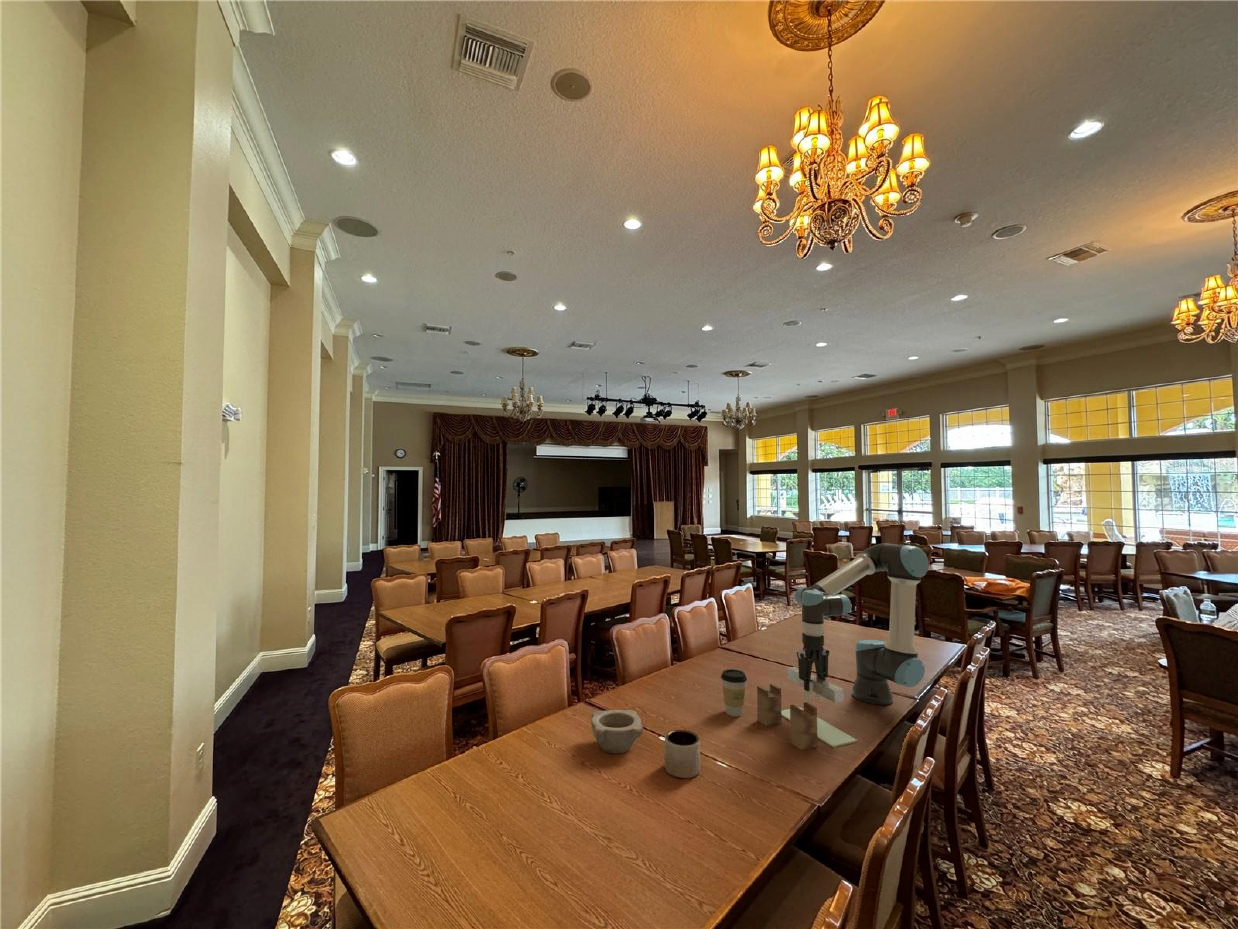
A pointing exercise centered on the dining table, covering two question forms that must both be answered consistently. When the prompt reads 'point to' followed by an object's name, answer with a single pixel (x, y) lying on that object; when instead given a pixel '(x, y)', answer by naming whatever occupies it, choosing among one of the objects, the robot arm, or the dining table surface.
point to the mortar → (616, 729)
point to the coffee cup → (734, 691)
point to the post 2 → (803, 726)
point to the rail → (818, 685)
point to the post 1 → (769, 705)
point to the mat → (827, 732)
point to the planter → (682, 753)
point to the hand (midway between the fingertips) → (813, 698)
